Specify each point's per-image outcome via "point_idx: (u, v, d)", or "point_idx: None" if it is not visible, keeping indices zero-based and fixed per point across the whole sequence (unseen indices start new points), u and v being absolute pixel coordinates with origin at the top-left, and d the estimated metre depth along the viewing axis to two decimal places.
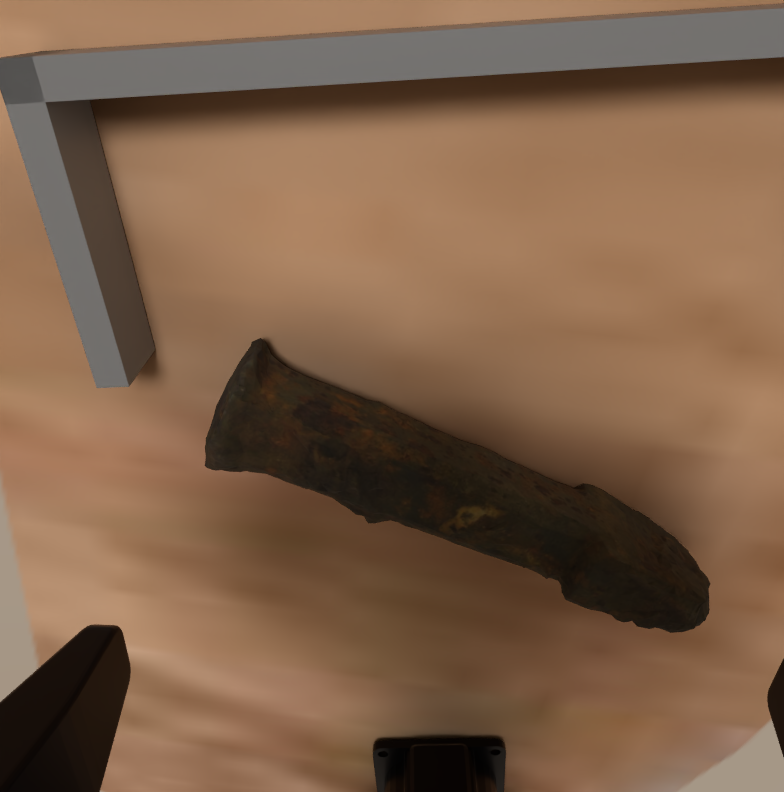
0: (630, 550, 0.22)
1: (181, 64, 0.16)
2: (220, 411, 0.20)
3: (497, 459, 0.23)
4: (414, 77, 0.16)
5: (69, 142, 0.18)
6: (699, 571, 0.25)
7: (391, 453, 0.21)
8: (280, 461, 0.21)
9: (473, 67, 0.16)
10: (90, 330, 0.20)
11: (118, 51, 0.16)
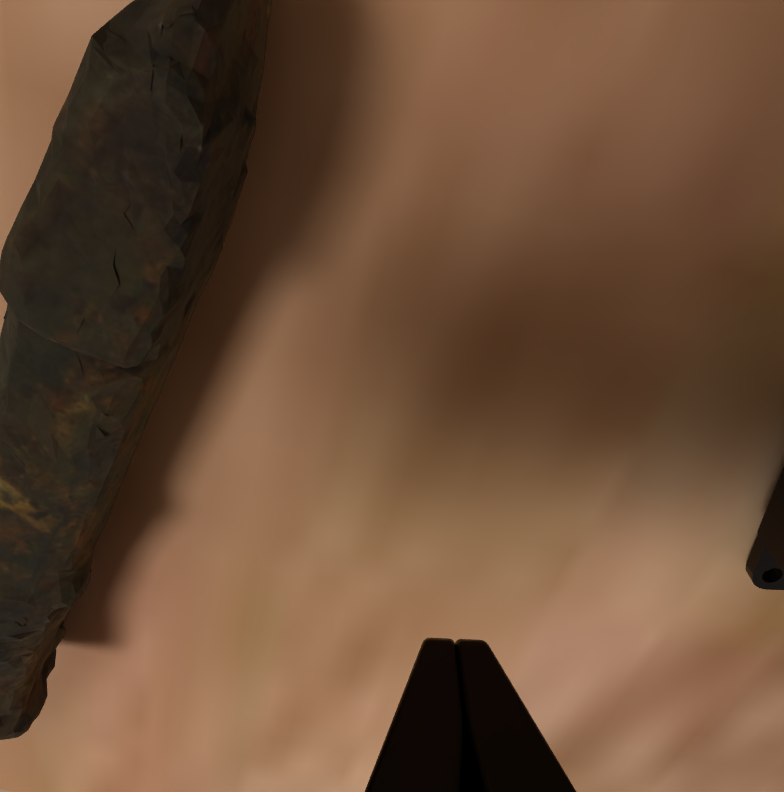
0: None
1: None
2: None
3: None
4: None
5: None
6: None
7: None
8: None
9: None
10: None
11: None
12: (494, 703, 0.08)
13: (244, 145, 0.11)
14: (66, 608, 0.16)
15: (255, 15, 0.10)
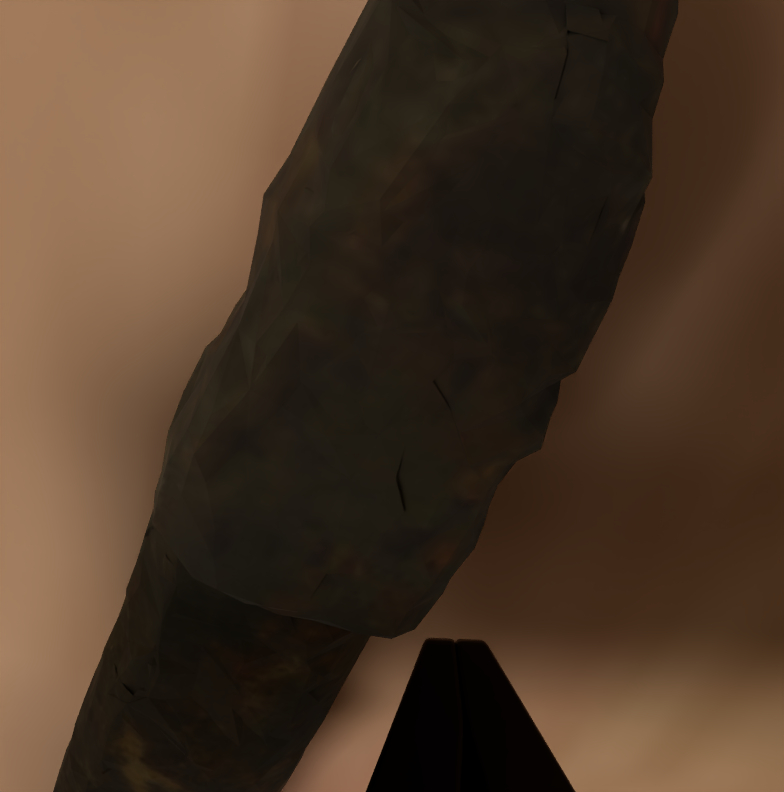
0: None
1: None
2: None
3: None
4: None
5: None
6: None
7: None
8: None
9: None
10: None
11: None
12: (494, 703, 0.08)
13: None
14: None
15: None
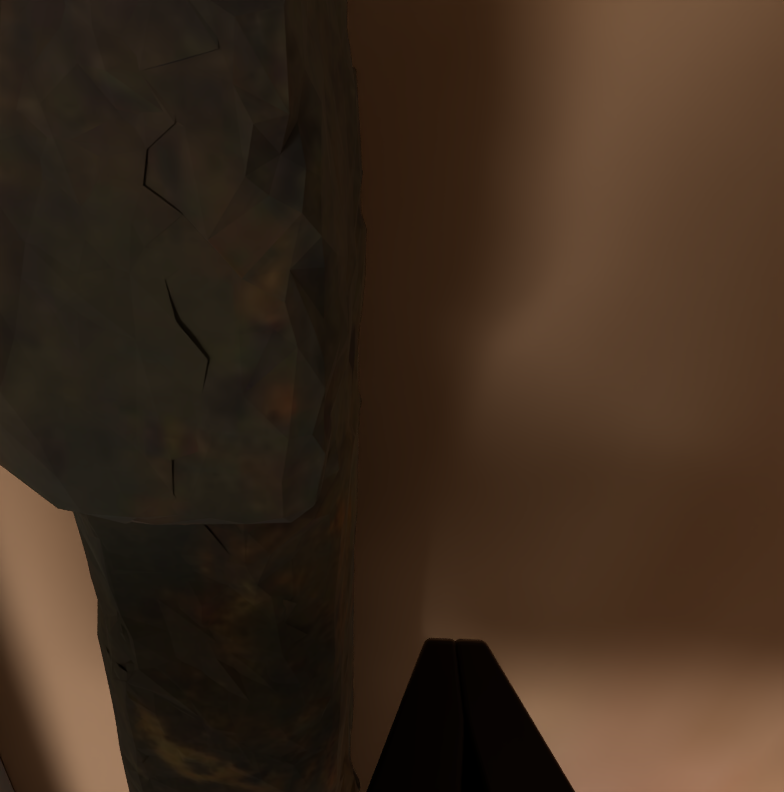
0: None
1: None
2: None
3: None
4: None
5: None
6: None
7: None
8: None
9: None
10: None
11: None
12: (493, 703, 0.08)
13: None
14: None
15: None
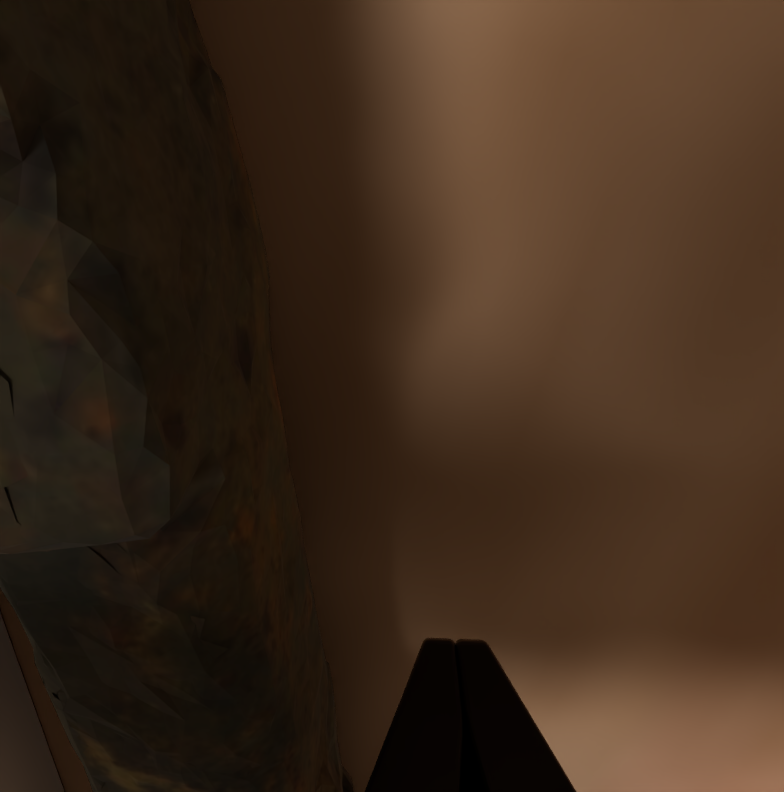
0: None
1: None
2: None
3: None
4: None
5: None
6: None
7: None
8: None
9: None
10: None
11: None
12: (494, 703, 0.08)
13: None
14: None
15: None
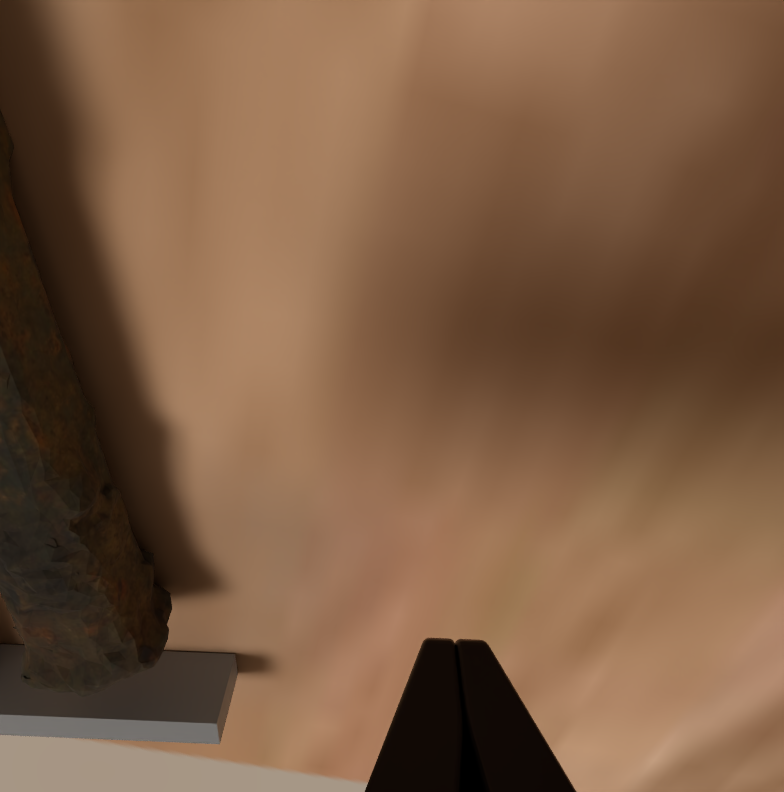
0: None
1: None
2: None
3: None
4: None
5: None
6: None
7: None
8: (69, 628, 0.17)
9: None
10: (156, 734, 0.20)
11: None
12: (494, 703, 0.08)
13: None
14: (98, 524, 0.17)
15: None
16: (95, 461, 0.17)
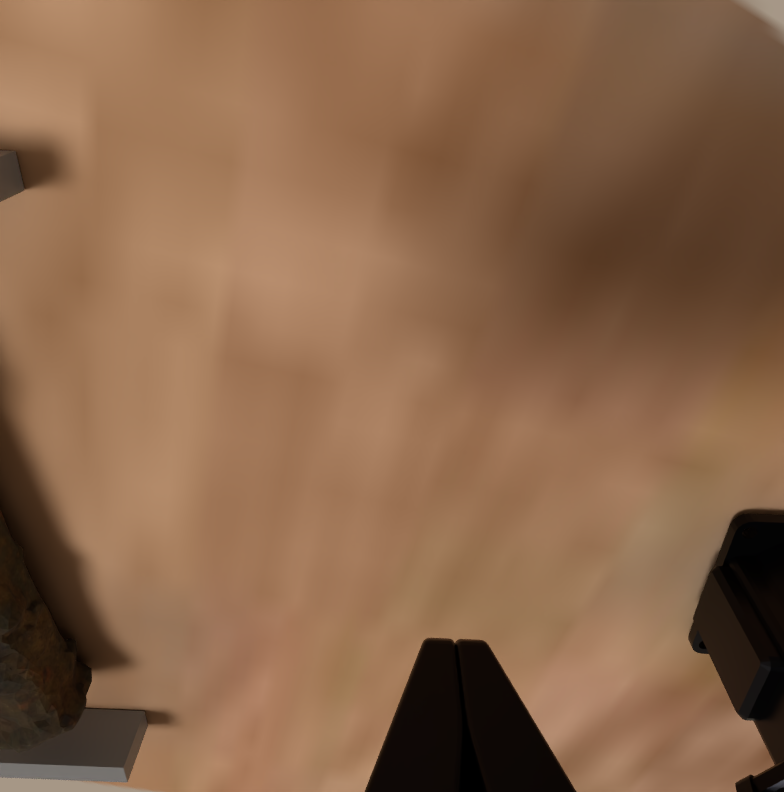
0: None
1: None
2: None
3: None
4: None
5: None
6: None
7: None
8: (7, 705, 0.24)
9: None
10: (78, 775, 0.27)
11: None
12: (494, 703, 0.08)
13: None
14: (25, 633, 0.23)
15: None
16: (23, 587, 0.23)
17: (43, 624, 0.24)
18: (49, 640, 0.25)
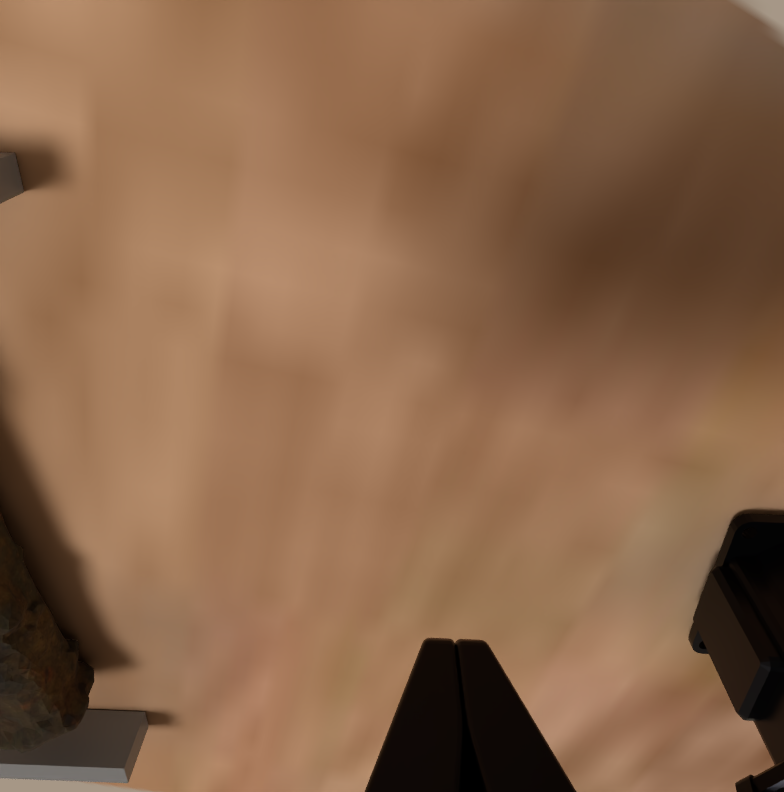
0: None
1: None
2: None
3: None
4: None
5: None
6: None
7: None
8: (9, 705, 0.24)
9: None
10: (79, 775, 0.27)
11: None
12: (494, 703, 0.08)
13: None
14: (26, 633, 0.23)
15: None
16: (23, 587, 0.23)
17: (44, 624, 0.24)
18: (50, 640, 0.25)
